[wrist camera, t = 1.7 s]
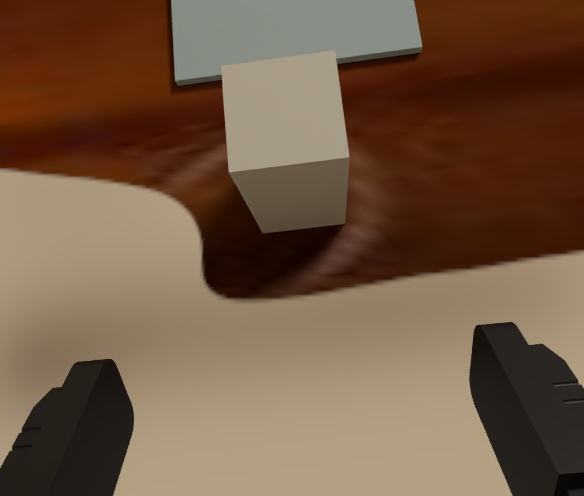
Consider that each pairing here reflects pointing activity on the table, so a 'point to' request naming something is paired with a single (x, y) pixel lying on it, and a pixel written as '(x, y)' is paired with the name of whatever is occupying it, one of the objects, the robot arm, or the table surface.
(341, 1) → the tile
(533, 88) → the table surface
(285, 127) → the beige block
